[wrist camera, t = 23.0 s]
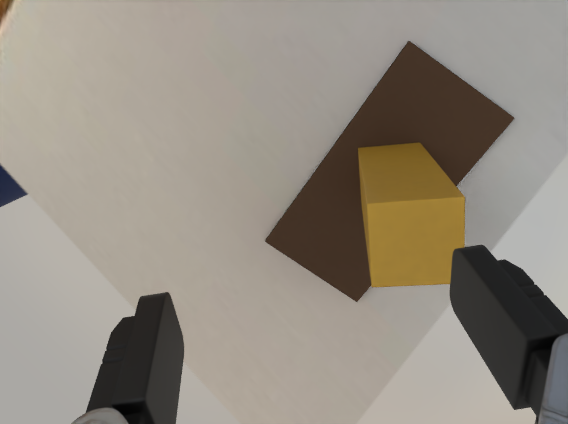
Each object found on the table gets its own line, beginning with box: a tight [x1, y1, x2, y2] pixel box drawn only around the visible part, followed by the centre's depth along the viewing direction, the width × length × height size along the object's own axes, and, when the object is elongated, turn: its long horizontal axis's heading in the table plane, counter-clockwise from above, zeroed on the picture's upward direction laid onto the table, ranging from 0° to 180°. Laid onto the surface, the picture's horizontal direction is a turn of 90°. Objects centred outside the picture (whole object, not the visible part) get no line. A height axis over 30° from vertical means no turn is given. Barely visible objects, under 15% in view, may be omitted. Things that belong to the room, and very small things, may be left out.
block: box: [358, 143, 465, 287], centre depth 28 cm, size 4×4×13 cm
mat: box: [265, 41, 514, 302], centre depth 35 cm, size 18×9×1 cm, turn 147°
